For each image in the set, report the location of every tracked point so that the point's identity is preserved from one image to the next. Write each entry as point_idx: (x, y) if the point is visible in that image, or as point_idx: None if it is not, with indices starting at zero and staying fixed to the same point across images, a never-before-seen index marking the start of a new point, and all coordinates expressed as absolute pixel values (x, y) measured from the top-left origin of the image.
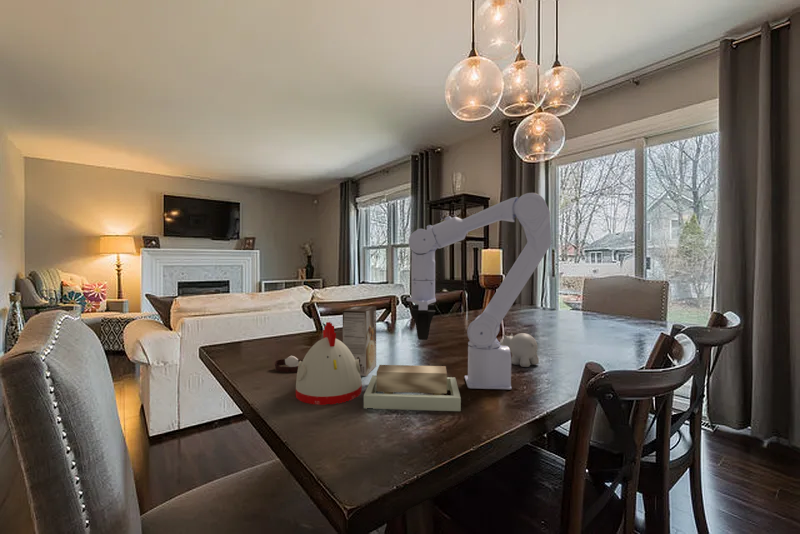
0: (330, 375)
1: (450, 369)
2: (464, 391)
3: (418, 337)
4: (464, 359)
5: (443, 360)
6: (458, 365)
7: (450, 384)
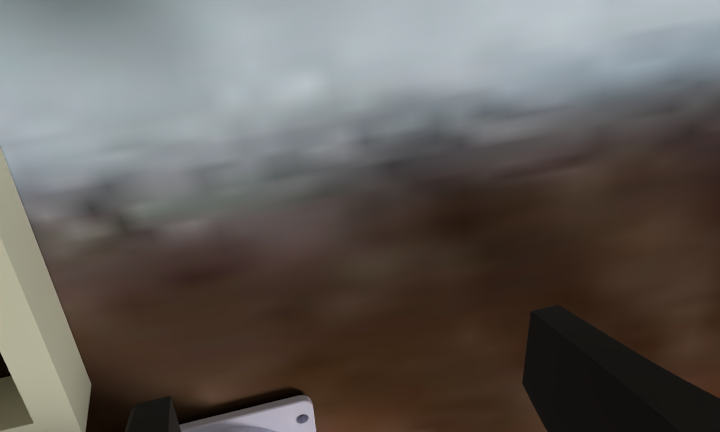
0: None
1: (463, 298)
2: None
3: (125, 429)
4: (653, 331)
5: (649, 232)
6: None
7: (7, 409)
